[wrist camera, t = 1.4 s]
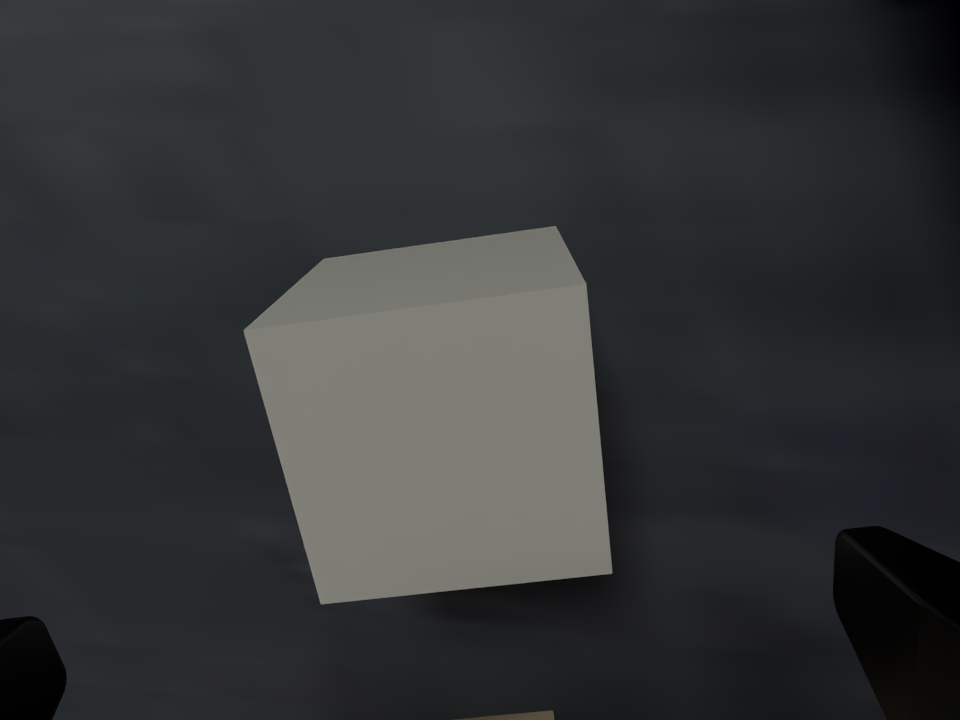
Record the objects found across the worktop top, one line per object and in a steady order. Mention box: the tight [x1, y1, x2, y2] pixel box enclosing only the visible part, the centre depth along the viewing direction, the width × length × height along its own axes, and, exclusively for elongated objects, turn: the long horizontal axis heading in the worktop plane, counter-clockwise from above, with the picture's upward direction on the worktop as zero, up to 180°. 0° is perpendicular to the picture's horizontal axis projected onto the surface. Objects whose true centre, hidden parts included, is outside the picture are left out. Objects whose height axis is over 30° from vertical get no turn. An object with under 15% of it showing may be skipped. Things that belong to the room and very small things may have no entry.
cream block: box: [243, 226, 612, 604], centre depth 13 cm, size 5×5×5 cm
